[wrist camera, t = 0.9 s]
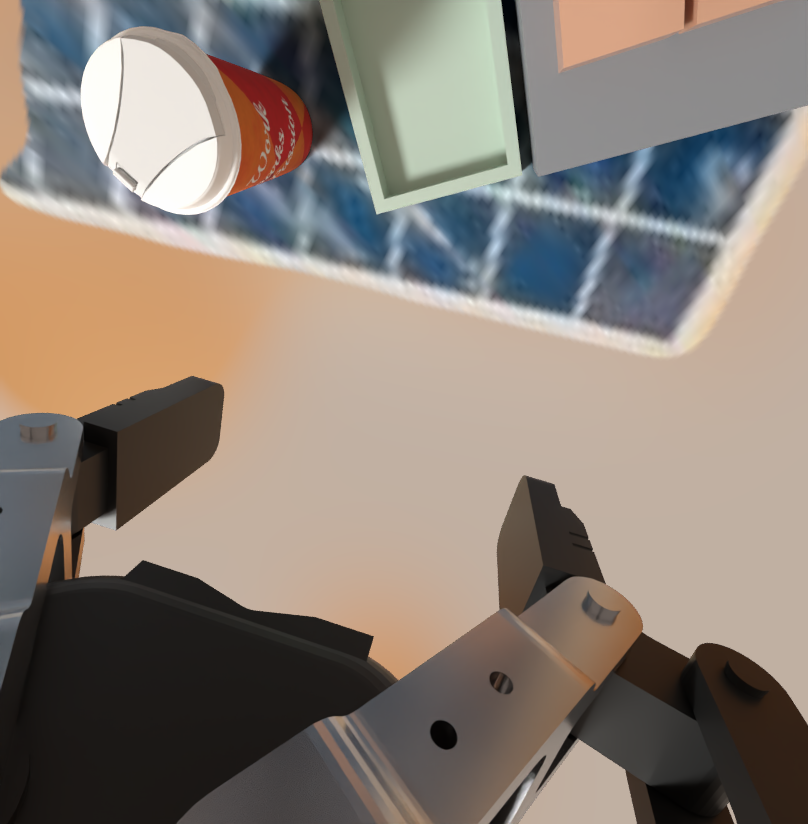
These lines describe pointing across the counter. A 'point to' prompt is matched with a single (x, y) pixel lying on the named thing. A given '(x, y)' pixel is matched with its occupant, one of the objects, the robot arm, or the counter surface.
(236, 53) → the counter surface
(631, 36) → the tile
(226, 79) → the paper cup
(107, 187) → the counter surface
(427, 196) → the tray
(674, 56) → the gray rectangular block
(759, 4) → the tile
